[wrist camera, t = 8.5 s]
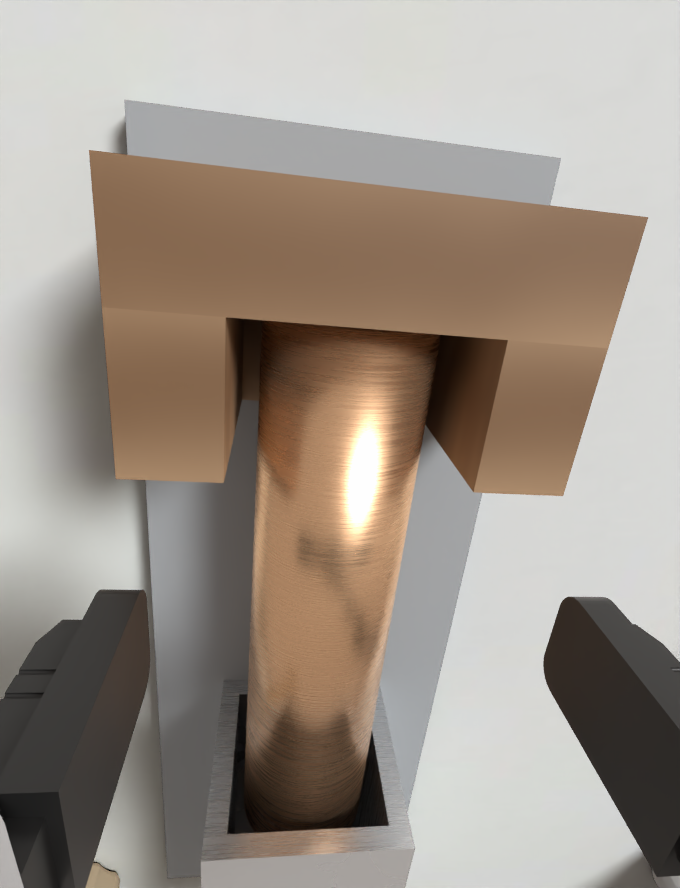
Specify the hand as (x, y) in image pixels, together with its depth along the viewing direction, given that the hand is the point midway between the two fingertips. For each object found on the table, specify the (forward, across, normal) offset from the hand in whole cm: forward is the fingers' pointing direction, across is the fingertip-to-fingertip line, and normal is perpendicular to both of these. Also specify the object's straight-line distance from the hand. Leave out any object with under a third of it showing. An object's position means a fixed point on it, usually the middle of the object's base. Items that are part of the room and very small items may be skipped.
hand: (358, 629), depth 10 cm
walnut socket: (+8, 0, -5) cm, 10 cm away
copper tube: (+7, 0, +4) cm, 8 cm away
